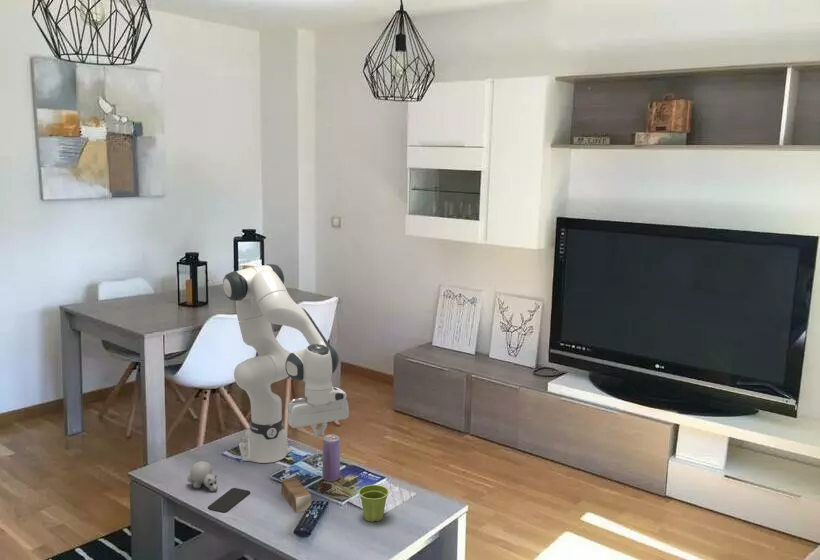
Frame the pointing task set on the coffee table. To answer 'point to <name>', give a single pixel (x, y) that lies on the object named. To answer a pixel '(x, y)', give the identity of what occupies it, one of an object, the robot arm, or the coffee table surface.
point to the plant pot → (373, 501)
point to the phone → (229, 500)
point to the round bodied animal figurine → (202, 476)
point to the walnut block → (296, 494)
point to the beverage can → (331, 457)
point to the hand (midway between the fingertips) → (318, 435)
